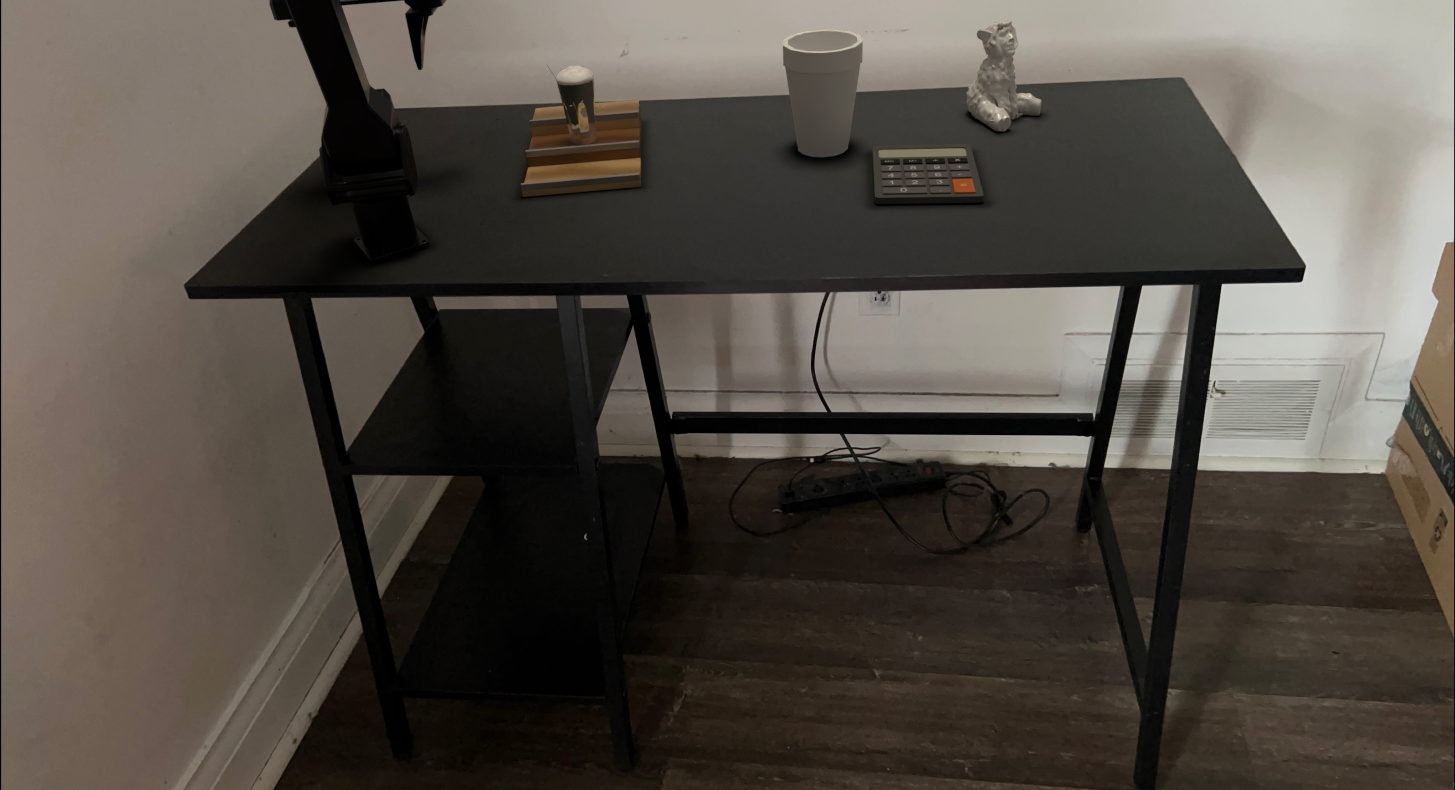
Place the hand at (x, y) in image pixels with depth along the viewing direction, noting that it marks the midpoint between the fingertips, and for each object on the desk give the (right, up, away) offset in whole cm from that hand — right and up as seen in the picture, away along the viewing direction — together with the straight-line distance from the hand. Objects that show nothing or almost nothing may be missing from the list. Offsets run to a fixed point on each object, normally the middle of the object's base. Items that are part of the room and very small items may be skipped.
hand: (381, 72), depth 112 cm
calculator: (+64, -13, -2) cm, 65 cm away
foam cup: (+53, -7, +7) cm, 54 cm away
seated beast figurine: (+76, -2, +12) cm, 77 cm away
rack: (+23, -8, +9) cm, 26 cm away
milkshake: (+22, -6, +8) cm, 25 cm away
